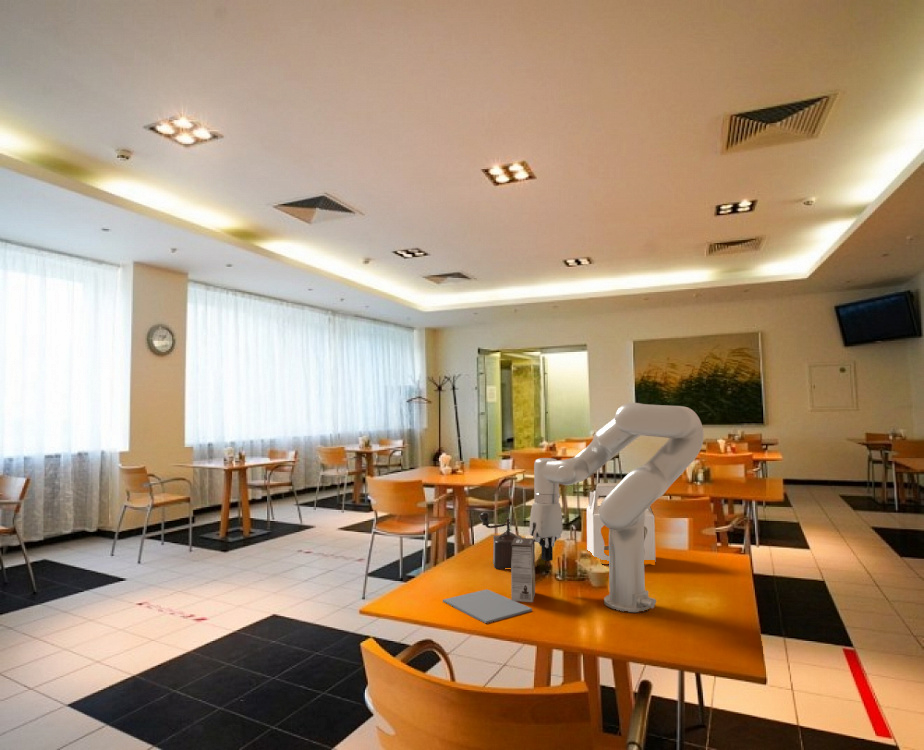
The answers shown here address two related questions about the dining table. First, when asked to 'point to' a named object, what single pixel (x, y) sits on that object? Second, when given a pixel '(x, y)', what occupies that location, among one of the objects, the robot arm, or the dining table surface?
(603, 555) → the gable box
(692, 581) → the dining table surface
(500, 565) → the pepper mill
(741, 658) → the dining table surface
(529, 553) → the coffee box
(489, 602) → the mat
